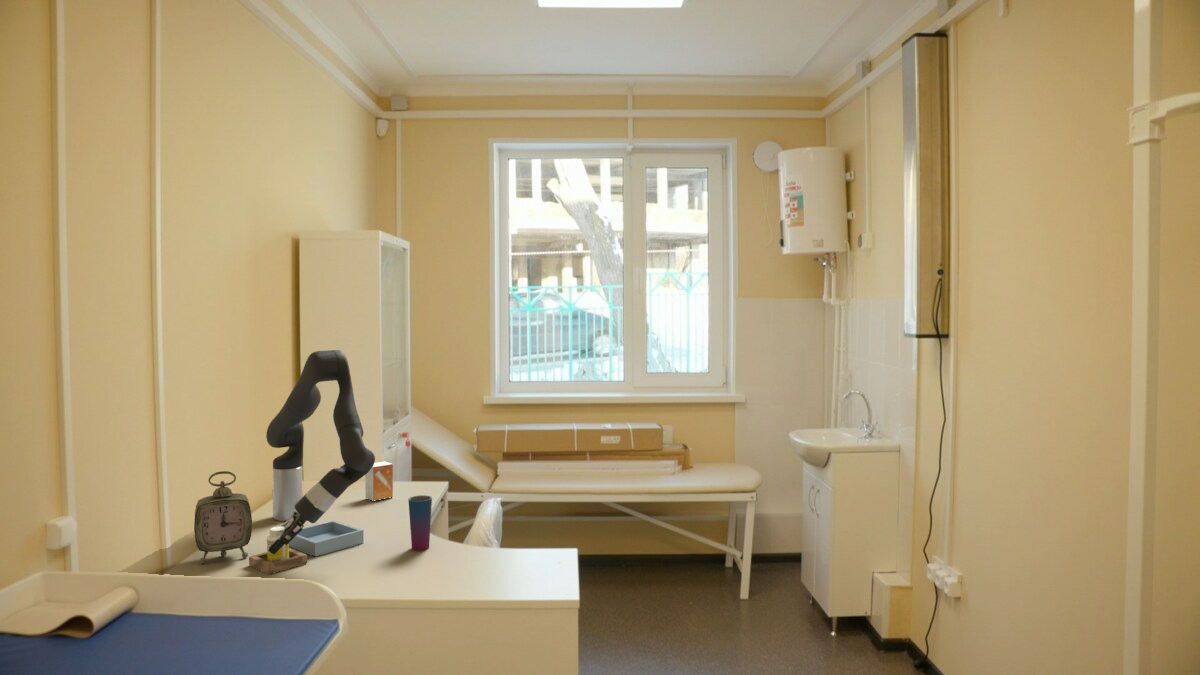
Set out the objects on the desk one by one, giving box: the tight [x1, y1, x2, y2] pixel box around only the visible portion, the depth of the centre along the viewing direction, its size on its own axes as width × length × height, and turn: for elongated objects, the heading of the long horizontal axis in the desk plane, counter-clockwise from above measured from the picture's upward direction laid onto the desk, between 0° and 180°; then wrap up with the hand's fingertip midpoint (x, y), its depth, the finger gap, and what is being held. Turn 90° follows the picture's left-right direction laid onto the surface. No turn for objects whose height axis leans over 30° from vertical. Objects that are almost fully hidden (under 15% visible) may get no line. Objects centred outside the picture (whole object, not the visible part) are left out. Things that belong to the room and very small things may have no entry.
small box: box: [364, 461, 394, 501], centre depth 283 cm, size 8×6×13 cm
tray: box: [289, 519, 364, 557], centre depth 231 cm, size 16×16×4 cm
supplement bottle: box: [266, 526, 290, 563], centre depth 213 cm, size 6×6×10 cm
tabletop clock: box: [193, 470, 253, 565], centre depth 217 cm, size 14×9×25 cm, turn 118°
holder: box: [248, 547, 308, 575], centre depth 213 cm, size 11×11×2 cm
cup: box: [407, 494, 433, 552], centre depth 227 cm, size 7×7×15 cm
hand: (271, 548), depth 212 cm, fingers open, 6 cm apart
